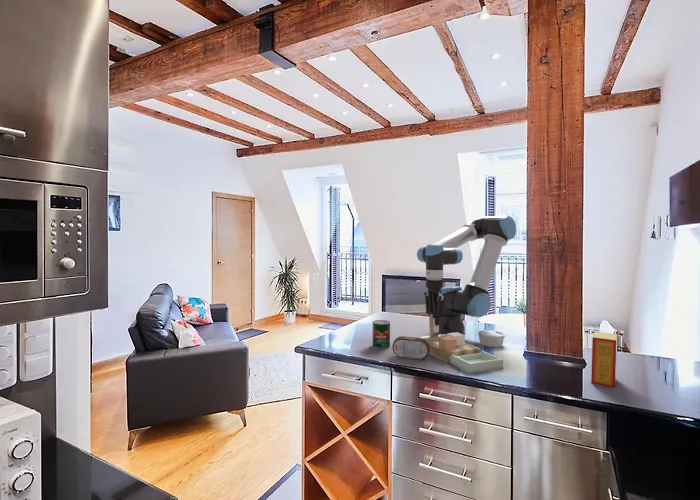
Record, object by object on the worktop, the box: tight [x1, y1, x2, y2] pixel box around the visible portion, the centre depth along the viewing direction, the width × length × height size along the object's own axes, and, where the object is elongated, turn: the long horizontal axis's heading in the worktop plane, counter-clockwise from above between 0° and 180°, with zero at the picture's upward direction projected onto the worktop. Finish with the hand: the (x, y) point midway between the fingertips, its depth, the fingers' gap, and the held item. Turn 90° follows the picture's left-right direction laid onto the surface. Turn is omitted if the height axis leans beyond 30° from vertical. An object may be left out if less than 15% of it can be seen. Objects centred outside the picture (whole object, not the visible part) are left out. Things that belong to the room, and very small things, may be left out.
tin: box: [392, 335, 430, 361], centre depth 156 cm, size 15×3×8 cm, turn 71°
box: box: [449, 350, 504, 375], centre depth 147 cm, size 15×12×4 cm
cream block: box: [447, 332, 466, 346], centre depth 163 cm, size 5×5×4 cm
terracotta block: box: [439, 336, 457, 350], centre depth 157 cm, size 5×5×4 cm
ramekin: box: [477, 329, 506, 348], centre depth 176 cm, size 11×11×5 cm
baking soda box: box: [590, 331, 618, 389], centre depth 132 cm, size 10×6×16 cm
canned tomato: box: [372, 319, 391, 350], centre depth 172 cm, size 8×8×11 cm
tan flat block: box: [428, 342, 481, 364], centre depth 160 cm, size 16×14×4 cm
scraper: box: [418, 313, 447, 343], centre depth 173 cm, size 14×3×14 cm, turn 111°
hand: (434, 331), depth 173 cm, fingers closed on scraper, 2 cm apart
